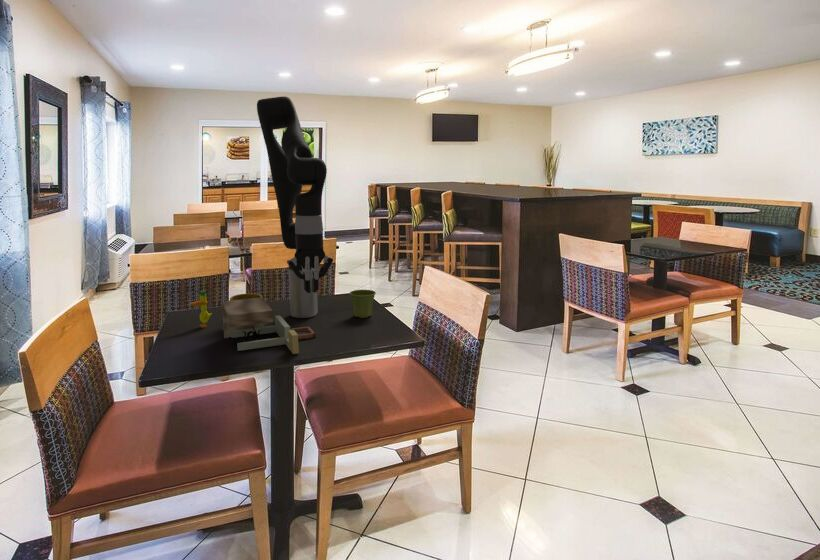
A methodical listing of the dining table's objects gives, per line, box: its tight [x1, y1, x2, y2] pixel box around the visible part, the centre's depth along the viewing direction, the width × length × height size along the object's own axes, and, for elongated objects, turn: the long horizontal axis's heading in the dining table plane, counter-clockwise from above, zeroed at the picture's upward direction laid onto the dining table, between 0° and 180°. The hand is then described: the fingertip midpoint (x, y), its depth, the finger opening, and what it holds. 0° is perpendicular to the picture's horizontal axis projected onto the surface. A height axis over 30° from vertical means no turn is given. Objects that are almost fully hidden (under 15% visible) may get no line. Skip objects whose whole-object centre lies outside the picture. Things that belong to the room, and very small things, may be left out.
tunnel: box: [221, 297, 274, 339], centre depth 149 cm, size 12×17×12 cm
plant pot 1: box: [229, 292, 263, 301], centre depth 168 cm, size 10×10×10 cm
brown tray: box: [290, 326, 316, 341], centre depth 157 cm, size 7×8×1 cm
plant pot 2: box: [349, 289, 377, 319], centre depth 179 cm, size 9×9×9 cm
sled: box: [231, 314, 300, 355], centre depth 147 cm, size 15×24×6 cm, turn 26°
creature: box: [233, 325, 261, 346], centre depth 148 cm, size 8×5×8 cm
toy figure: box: [189, 291, 213, 329], centre depth 165 cm, size 7×4×12 cm, turn 126°
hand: (311, 292), depth 142 cm, fingers closed
